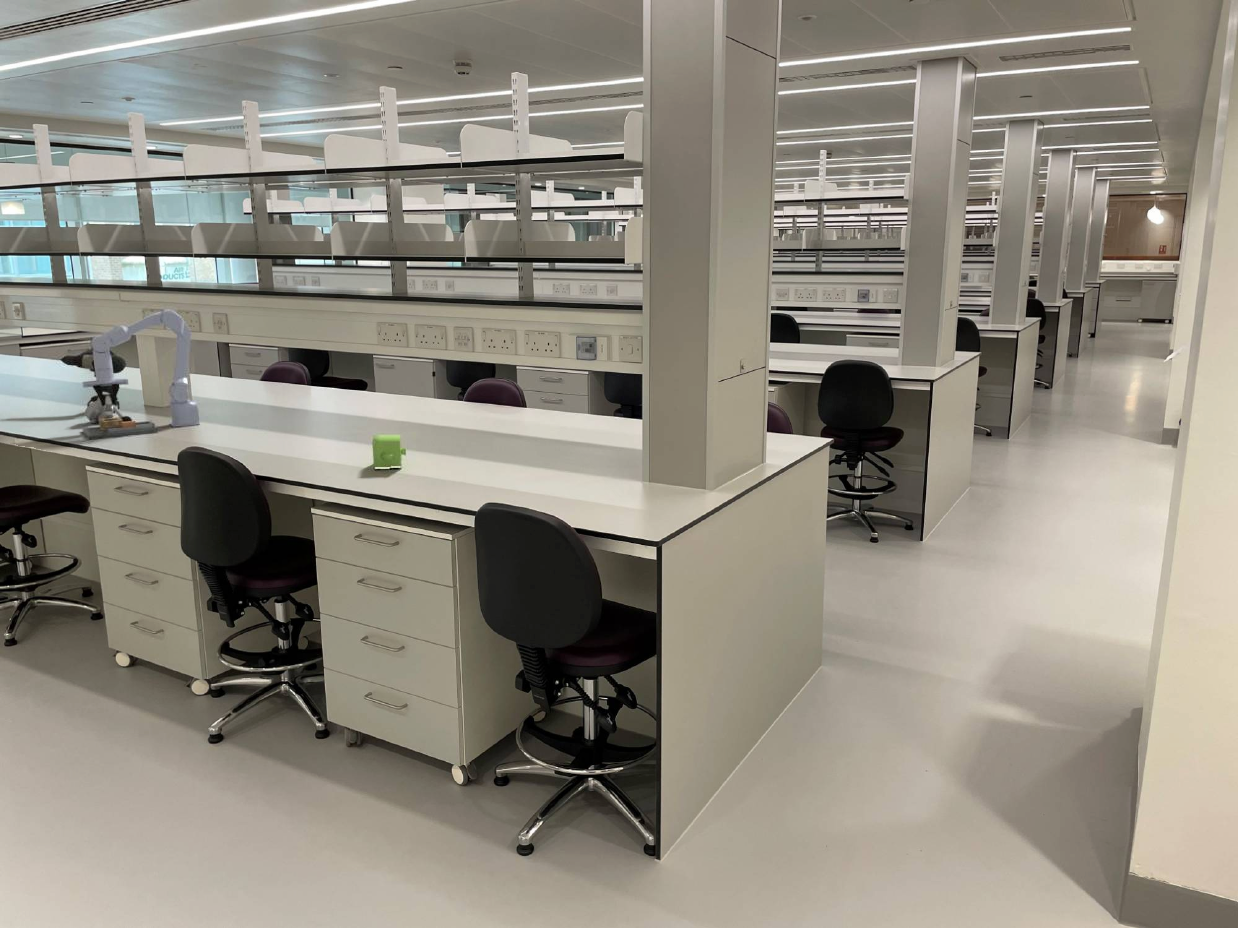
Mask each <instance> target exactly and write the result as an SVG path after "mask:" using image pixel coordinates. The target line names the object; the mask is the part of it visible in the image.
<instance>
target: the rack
mask: <svg viewBox="0 0 1238 928" xmlns="http://www.w3.org/2000/svg"><path fill="white" fill-rule="evenodd" d="M122 422H123V420H122V419H121V418H120V417H119V416H118V417H113V418H106V419H99V422H98V424H99V425H98V427H100V428H101V429H102V430H107V427H113V426H122Z"/></svg>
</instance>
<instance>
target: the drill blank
mask: <svg viewBox="0 0 1238 928" xmlns="http://www.w3.org/2000/svg"><path fill="white" fill-rule="evenodd" d="M103 400H104V405H105V406H104V409H105V411H113V410H114V407H113V399H112V394H103Z"/></svg>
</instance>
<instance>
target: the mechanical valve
mask: <svg viewBox="0 0 1238 928" xmlns="http://www.w3.org/2000/svg"><path fill="white" fill-rule="evenodd" d="M103 394H109V393H107V392H103ZM113 407H114V410H113V411H105V409H104V406H102V405H101V401H100V399H99V397H98V400H97V401H95V402H90V403H89V406H88V407H86V408H85V410H84V416H85V417H86V418H87V420H88V421H89V422H91V424H96V423H99V419H106V418H114V413H115V414H116V415H117V416H118V417H120V418H121V419H122V420H123V422H128V421H133V419H132V417H130V416H127V415H124V414H123V413H122V412H121V411H120V409H119V410H118V409H117V407H116V406H115V405H113ZM114 411H115V412H114ZM113 412H114V413H113Z"/></svg>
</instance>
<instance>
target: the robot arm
mask: <svg viewBox="0 0 1238 928" xmlns="http://www.w3.org/2000/svg"><path fill="white" fill-rule="evenodd" d="M152 326H153V327H155V326H156V327H157V326H158V327H162V326H165V327H167V328H169V329H171V331H172V332H173V333H174V334H175V335H176V345H175V356H174V357H175V358H174V366H173V367H174V368H173V369H174V371H173V377H172V383H171V385H170V387H169V389H168V394H169V396H170V397H171V399H170V401H169V405H170V406H169V407H170V413H171V414H170V415H171V421H170V422H169V424H170V426H172V427H175V428H177V427H184V426H185V427H186V426H195V425H201V422H200V415H199V407H198V403H197V401H196V400H191V399H190V396H191V395H190V393H191V392H190V391H189V389H188V388H189V386H188V385H189V383H188V376H189V375H188V374H189V373H188V372H189V361H190V351H191V338H192V331H191V330H190V328H189V326H188V325H187V322H185V320H184V318H183V317H182V316H181V315H180V314H179V313H177V312H176V311H174V310H173V309H168V308H167V309H163V310H162V311H157V312H154V313H152V314H150V315H147V316H145V317H143V318H142V319H139V320H137V321H136V322H134V323H130V325H127V326H125V325H119V326H118V325H115V326H113V328H112V329H110V330H108V331H106V332H104V331H102V332H100V335H97V336H94V337H93V338H92V340H91V343H90V345H91V348H92V355H94V357H93V359H94V366H95V373H96V377H95V380H90V381H89V380H88V381H82V388H83V389H84V388H90V387H91V388H93V390H94V392H95V393H96V395H98V397H99V399H100V401H101V405H102V406H105V405H104V400H103V392H102V387H101V386H110V385H111V386H110V387H111V393H112V399H113V405H116V396H117V395H118V393H119V390H120V388H121V387H120V385H125V386H126V385H129V379H128V378H115V377H114V376H115V375H114V374H115V373H113V367H112V359H111V356H112V355H111V352H110V351H111V350H110V349H111V348H112V347H113V348H114V347H117V346H119V345H120V344H123V343H125V342H128V341H130V340H131V338H132V336H133V335H134V334H136V333H138V332H140V331H143V330H145V329H148V328H149V327H152ZM110 355H111V356H110ZM110 383H112V384H110ZM100 384H102V385H100ZM117 397H118V396H117Z"/></svg>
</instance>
